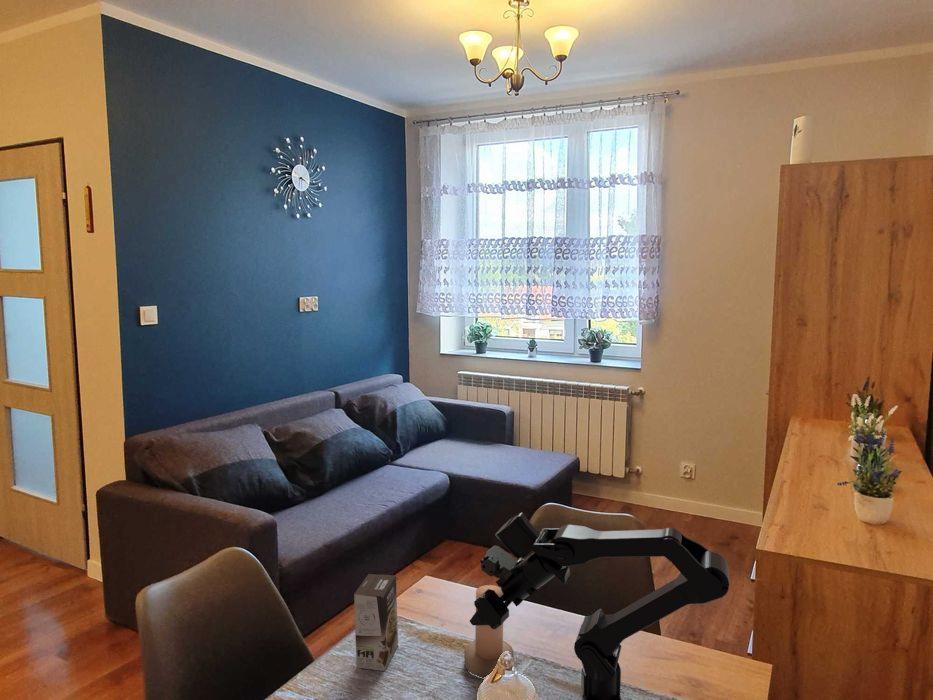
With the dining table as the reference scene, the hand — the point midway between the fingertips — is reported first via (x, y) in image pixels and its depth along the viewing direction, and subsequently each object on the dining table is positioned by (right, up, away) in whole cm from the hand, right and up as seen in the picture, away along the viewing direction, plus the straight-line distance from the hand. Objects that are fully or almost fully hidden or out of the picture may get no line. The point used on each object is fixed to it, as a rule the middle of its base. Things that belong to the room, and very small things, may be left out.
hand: (482, 611), depth 133 cm
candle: (+1, -8, 0) cm, 8 cm away
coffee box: (-22, -11, +4) cm, 25 cm away
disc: (+1, -11, +1) cm, 12 cm away
